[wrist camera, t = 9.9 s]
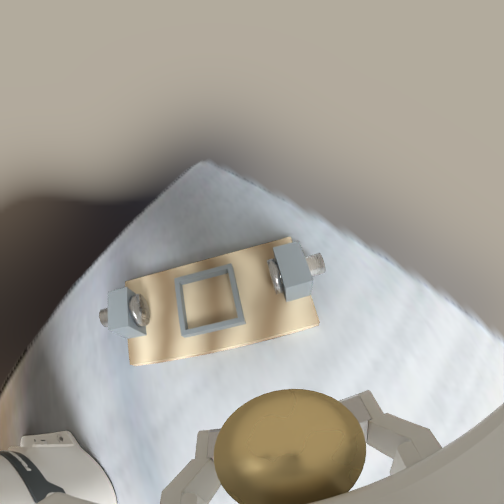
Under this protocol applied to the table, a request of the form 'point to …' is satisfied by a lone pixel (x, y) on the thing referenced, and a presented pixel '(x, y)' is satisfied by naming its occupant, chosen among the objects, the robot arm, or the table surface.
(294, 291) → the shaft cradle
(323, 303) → the table surface
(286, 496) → the cylinder
